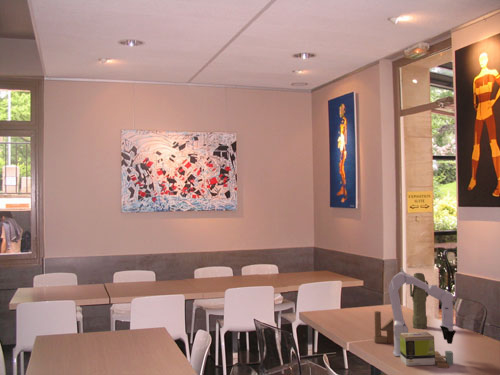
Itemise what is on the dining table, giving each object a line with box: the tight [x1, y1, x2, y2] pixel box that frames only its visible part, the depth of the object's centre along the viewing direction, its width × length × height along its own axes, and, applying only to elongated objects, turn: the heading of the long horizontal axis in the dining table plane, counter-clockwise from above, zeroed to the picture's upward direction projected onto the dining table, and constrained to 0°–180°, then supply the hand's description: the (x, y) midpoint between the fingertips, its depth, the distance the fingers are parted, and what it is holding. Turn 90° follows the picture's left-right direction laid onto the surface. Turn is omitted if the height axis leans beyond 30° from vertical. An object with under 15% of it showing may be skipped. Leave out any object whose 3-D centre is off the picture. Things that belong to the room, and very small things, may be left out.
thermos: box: [409, 272, 430, 330], centre depth 360 cm, size 9×12×35 cm
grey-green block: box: [438, 350, 454, 366], centre depth 282 cm, size 4×7×6 cm, turn 84°
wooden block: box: [373, 310, 394, 344], centre depth 324 cm, size 4×11×18 cm, turn 85°
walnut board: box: [435, 350, 450, 369], centre depth 287 cm, size 24×5×2 cm, turn 174°
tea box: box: [400, 331, 436, 367], centre depth 284 cm, size 15×10×15 cm, turn 92°
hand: (447, 341), depth 289 cm, fingers open, 7 cm apart
